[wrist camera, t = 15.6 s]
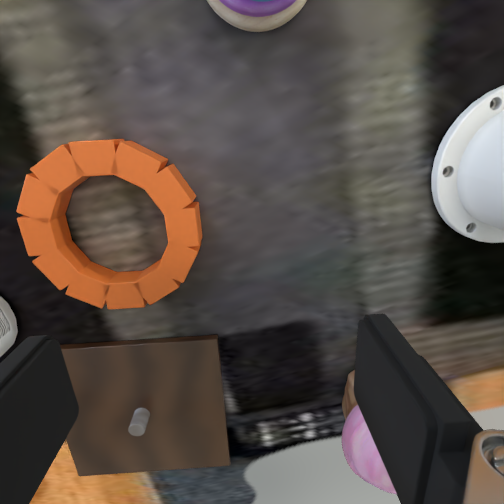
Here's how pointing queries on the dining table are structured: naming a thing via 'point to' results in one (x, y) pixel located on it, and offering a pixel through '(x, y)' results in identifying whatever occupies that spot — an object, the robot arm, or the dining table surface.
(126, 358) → the board
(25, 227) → the ring
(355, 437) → the cupcake
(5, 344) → the supplement can
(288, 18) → the stacking toy
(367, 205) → the dining table surface
